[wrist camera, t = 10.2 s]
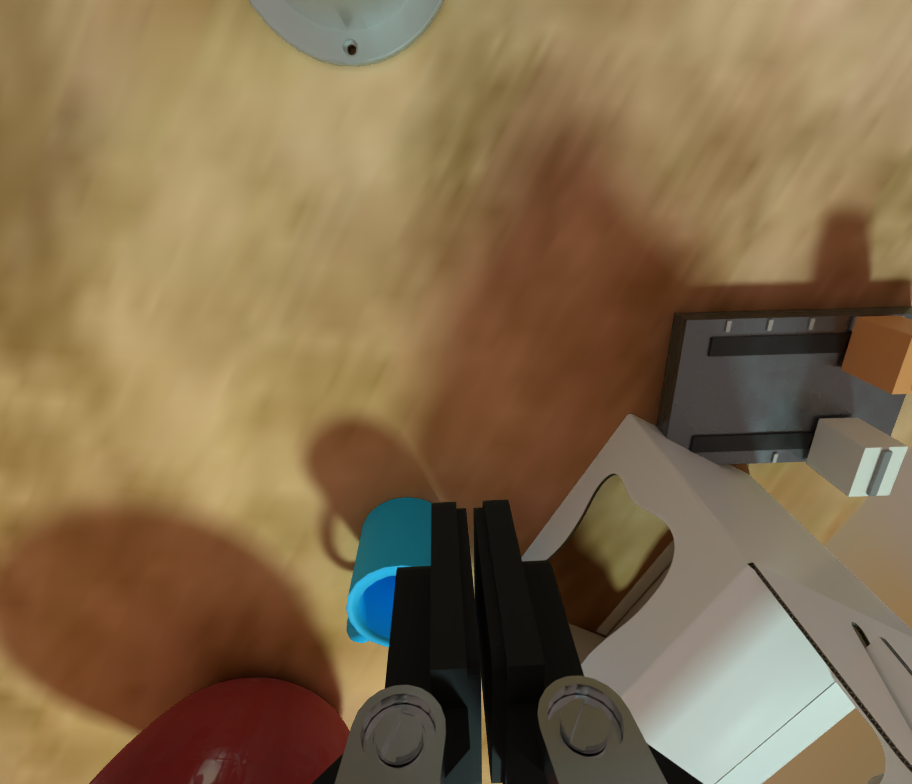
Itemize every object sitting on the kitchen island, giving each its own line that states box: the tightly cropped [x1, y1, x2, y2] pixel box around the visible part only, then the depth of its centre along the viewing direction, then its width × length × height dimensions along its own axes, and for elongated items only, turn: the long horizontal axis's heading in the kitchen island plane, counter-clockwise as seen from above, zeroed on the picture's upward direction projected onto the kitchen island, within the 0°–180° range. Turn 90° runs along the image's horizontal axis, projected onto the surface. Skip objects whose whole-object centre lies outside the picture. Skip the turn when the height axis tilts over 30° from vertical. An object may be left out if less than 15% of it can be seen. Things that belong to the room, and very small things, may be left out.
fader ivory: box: [806, 417, 908, 497], centre depth 37 cm, size 4×3×5 cm
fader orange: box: [841, 316, 912, 394], centre depth 34 cm, size 4×3×5 cm
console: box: [656, 306, 912, 465], centre depth 39 cm, size 12×18×2 cm, turn 91°
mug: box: [346, 497, 431, 647], centre depth 41 cm, size 12×8×8 cm
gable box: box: [521, 414, 912, 784], centre depth 33 cm, size 22×13×28 cm, turn 151°
